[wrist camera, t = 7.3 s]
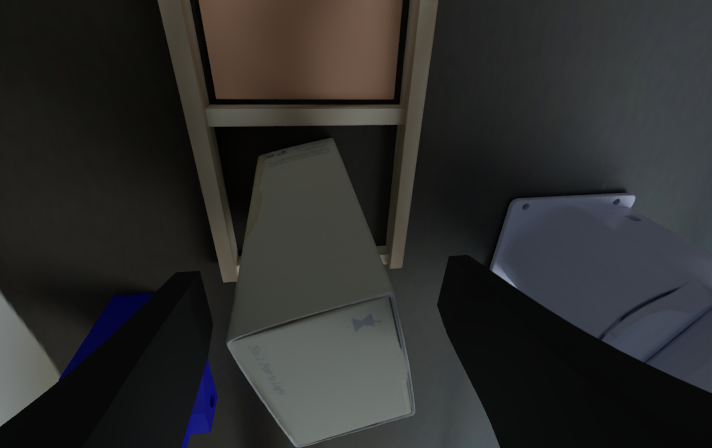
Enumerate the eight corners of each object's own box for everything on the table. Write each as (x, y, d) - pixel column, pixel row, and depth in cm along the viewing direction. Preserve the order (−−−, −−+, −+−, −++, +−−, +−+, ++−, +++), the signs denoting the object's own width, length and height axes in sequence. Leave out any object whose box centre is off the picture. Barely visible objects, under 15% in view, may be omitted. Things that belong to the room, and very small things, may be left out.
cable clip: (217, 395, 28) (201, 477, 23) (160, 401, 27) (130, 488, 22) (189, 289, 22) (158, 369, 17) (114, 293, 21) (58, 379, 16)
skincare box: (256, 153, 18) (209, 335, 7) (336, 134, 18) (397, 286, 8) (290, 245, 21) (290, 455, 11) (358, 228, 21) (419, 419, 11)
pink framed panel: (443, -141, 13) (459, -158, 12) (395, 254, 23) (402, 267, 22) (130, -180, 11) (110, -205, 10) (227, 266, 21) (223, 282, 20)
